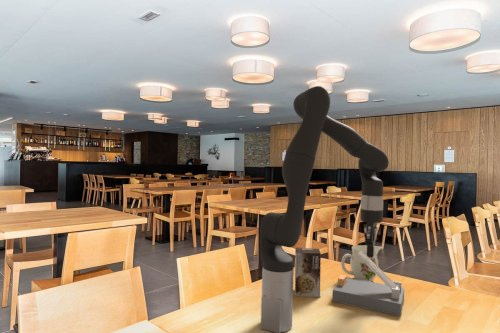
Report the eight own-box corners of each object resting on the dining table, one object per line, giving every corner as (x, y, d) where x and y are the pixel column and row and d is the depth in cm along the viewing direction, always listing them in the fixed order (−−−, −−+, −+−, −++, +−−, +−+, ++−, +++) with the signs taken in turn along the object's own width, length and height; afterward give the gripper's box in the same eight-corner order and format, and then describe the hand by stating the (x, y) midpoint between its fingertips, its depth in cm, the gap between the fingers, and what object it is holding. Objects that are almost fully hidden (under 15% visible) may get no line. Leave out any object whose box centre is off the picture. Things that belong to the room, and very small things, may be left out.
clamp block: (400, 316, 109) (401, 294, 108) (332, 301, 119) (332, 281, 119) (404, 298, 123) (404, 279, 123) (342, 286, 133) (343, 268, 133)
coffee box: (318, 290, 128) (319, 248, 128) (320, 297, 122) (321, 253, 121) (294, 289, 129) (295, 247, 129) (294, 296, 123) (295, 251, 122)
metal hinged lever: (396, 296, 114) (400, 292, 113) (355, 255, 120) (358, 252, 120) (397, 290, 119) (401, 287, 118) (358, 252, 125) (361, 249, 125)
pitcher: (335, 276, 145) (336, 244, 145) (374, 274, 148) (375, 243, 148) (346, 285, 134) (348, 251, 134) (388, 283, 137) (389, 250, 137)
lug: (343, 286, 123) (343, 279, 122) (337, 285, 123) (338, 278, 123) (346, 282, 127) (346, 275, 127) (341, 281, 128) (341, 274, 128)
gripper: (380, 211, 113) (378, 263, 113) (385, 206, 124) (383, 253, 125) (357, 209, 116) (355, 259, 116) (363, 205, 128) (362, 250, 128)
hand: (370, 256), depth 121 cm, fingers closed
